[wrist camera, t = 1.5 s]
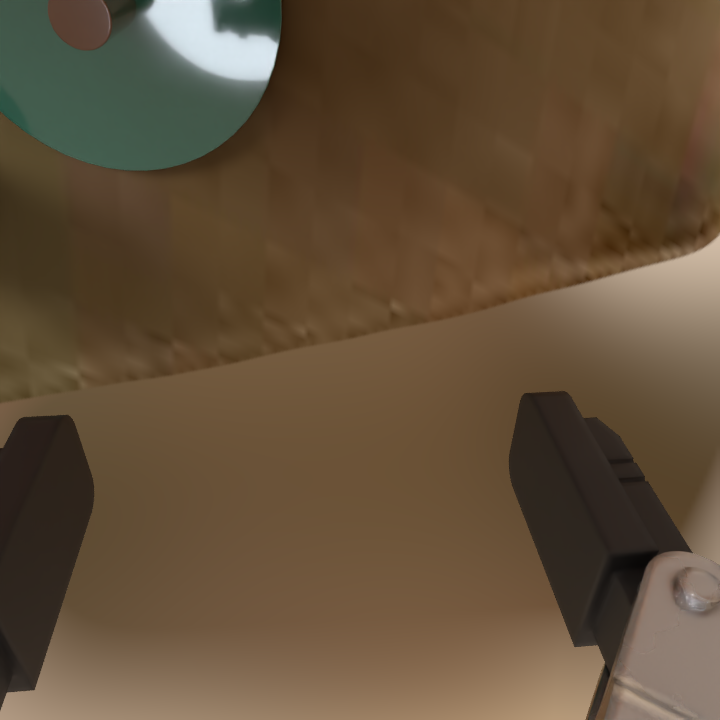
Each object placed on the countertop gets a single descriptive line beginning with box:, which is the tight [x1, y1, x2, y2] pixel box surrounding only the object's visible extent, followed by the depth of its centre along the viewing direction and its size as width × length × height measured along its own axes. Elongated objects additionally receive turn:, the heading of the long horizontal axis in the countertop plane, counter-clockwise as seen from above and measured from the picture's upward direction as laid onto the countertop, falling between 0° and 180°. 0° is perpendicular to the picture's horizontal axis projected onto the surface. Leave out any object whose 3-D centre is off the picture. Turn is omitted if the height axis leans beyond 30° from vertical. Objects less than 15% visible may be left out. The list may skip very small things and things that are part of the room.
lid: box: [0, 0, 282, 171], centre depth 27 cm, size 16×16×6 cm
